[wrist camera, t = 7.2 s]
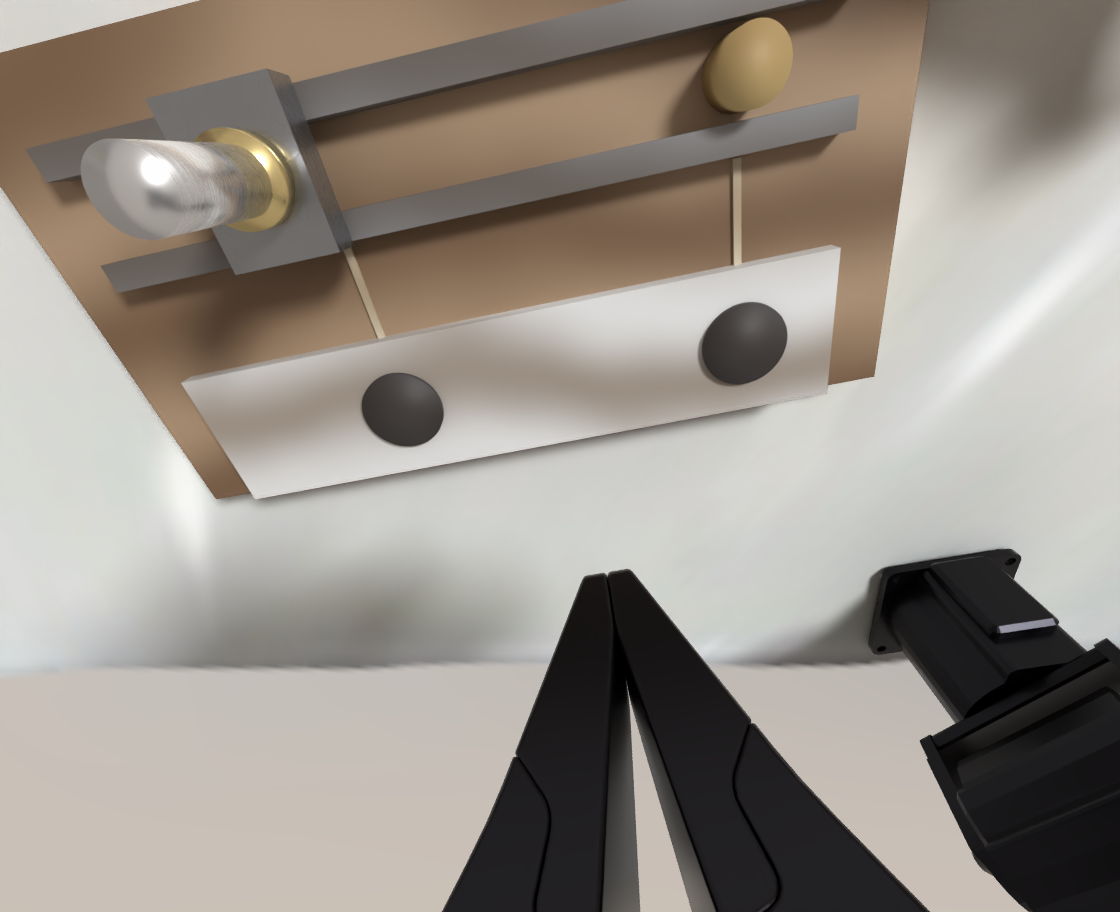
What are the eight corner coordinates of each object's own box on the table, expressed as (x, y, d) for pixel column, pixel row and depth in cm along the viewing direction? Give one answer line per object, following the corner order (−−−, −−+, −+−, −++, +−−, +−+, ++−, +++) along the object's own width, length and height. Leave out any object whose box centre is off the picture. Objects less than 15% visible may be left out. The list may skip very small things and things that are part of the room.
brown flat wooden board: (852, 361, 20) (899, 393, 17) (235, 478, 21) (194, 522, 19) (915, -163, 12) (1013, -246, 10) (-23, 80, 14) (-146, 64, 12)
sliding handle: (354, 245, 14) (266, 287, 10) (257, 266, 15) (126, 318, 10) (289, 75, 12) (139, 28, 8) (177, 103, 13) (-35, 72, 8)
